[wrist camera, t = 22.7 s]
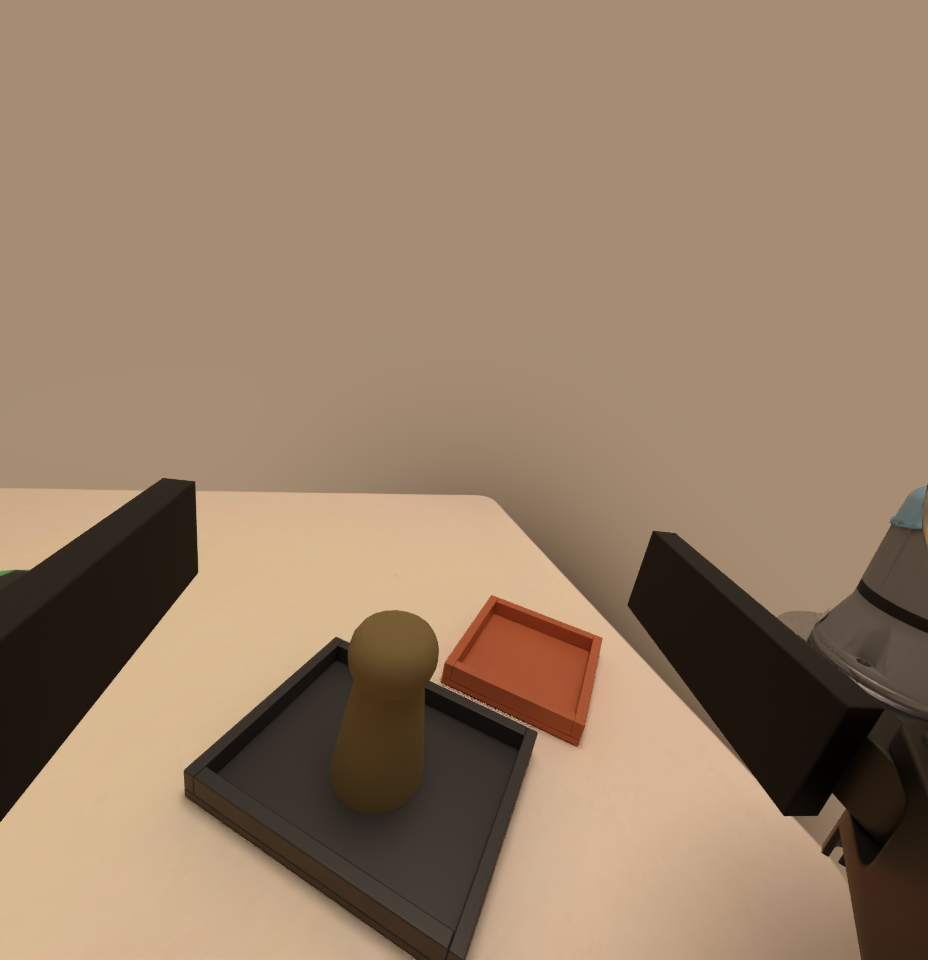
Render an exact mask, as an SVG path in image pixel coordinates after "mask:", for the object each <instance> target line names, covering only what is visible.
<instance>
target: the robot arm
mask: <svg viewBox="0 0 928 960" xmlns="http://www.w3.org/2000/svg"><path fill="white" fill-rule="evenodd" d="M890 523H891V524H892V525H891V526H890V528H889V530H888V532H887V533H886V536H885V537H884V539H883V541H882V543H881V544H880V546H879V548H878V550H877V552H876V553H875V555H874V557H873V559H872V560H871V562H870V564H869V566H868V567H867V569H866V571H865V573H864V574H863V576H862V579H861V580H860V582H859V584H858V586H857V588H856V590H855V591H854V592H853V593H852V594H851V595H850V596H848V597H847V598H846V599H845V600H843V601H842V602H841V603H840V604H838V605H837V606H836V607H835V608H833V609H832V610H831V611H830V612H828V611H829V610H830V608H829V609H828V610H827V611H826V612H824V613H823V614H822V616H821V617H820V619H819V620H818V622H816V624H815V625H814V627H813V629H812V631H811V633H810V635H809V641H810V644H811V645H810V644H809V643H807V642H806V641H805V640H804V639H803V638H801V637H799V636H798V635H796V634H795V633H794V632H793V631H792V630H790V629H789V628H788V627H787V626H786V625H784V624H783V623H782V622H781V621H780V620H778V619H777V618H776V617H775V616H774V615H772V614H771V613H770V612H769V611H768V610H766V609H765V608H764V607H763V606H762V605H761V604H759V603H758V602H757V601H756V600H754V599H753V598H752V597H751V596H750V595H749V594H747V593H746V592H745V591H744V590H742V589H741V588H740V587H739V586H738V585H737V584H735V583H734V582H733V581H732V580H731V579H729V578H728V577H727V576H726V575H725V574H723V573H722V572H721V571H720V570H719V569H717V568H716V567H715V566H714V565H713V564H712V563H710V562H709V561H708V560H706V558H704V557H703V556H702V555H700V553H698V552H697V551H696V550H695V549H694V548H692V547H691V546H690V545H689V544H688V543H686V542H685V541H684V540H683V539H682V538H680V537H679V536H678V535H677V534H676V533H669V532H659V531H653V532H652V535H651V538H650V541H649V544H648V547H647V550H646V553H645V556H644V559H643V561H642V564H641V567H640V570H639V573H638V576H637V579H636V582H635V584H634V588H633V590H632V593H631V596H630V599H629V602H628V607H629V608H630V609H631V611H632V612H633V614H634V615H635V616H636V617H637V619H638V620H639V622H640V623H641V624H642V626H643V627H644V628H645V630H646V631H647V632H648V634H649V635H650V636H651V638H652V639H653V640H654V642H655V643H656V644H657V646H658V647H659V649H660V650H661V651H662V653H663V654H664V655H665V657H666V658H667V659H668V661H669V662H670V663H671V665H672V666H673V667H674V668H675V670H676V671H677V673H678V674H679V675H680V677H681V678H682V679H683V681H684V682H685V683H686V685H687V686H688V687H689V689H690V690H691V692H692V693H693V694H694V696H695V697H696V698H697V700H698V701H699V702H700V704H701V705H702V706H703V708H704V709H705V710H706V712H707V713H708V714H709V716H710V717H711V718H712V720H713V721H714V723H715V724H716V725H717V727H718V728H719V729H720V731H721V732H722V733H723V734H724V736H725V737H726V739H727V740H728V741H729V743H730V744H731V745H732V747H733V748H734V750H735V751H736V752H737V753H738V755H739V756H740V758H741V759H742V760H743V761H744V763H745V764H746V765H747V767H748V768H749V770H750V771H751V772H752V774H753V775H754V776H755V778H756V779H757V780H758V782H759V783H760V785H761V786H762V787H763V789H764V790H765V791H766V793H767V794H768V795H769V797H770V798H771V799H772V801H773V802H774V803H775V805H776V806H777V807H778V809H779V810H780V811H781V813H782V814H783V815H784V816H818V814H819V813H820V811H821V810H822V808H823V806H824V805H825V803H826V802H827V800H828V799H829V797H830V795H831V794H832V793H833V794H834V795H835V796H836V798H837V799H838V800H839V801H840V802H841V803H842V804H843V805H844V807H845V808H846V810H845V811H844V813H843V814H842V816H841V818H840V819H839V820H838V822H837V824H836V825H835V827H834V828H833V830H832V831H831V833H830V834H829V836H828V837H827V839H826V840H825V842H824V843H823V846H822V852H821V853H823V854H824V855H826V856H828V857H829V855H830V854H831V852H832V851H833V849H834V848H835V847H838V846H839V847H842V848H843V853H844V854H843V855H842V857H841V858H840V860H839V863H840V864H841V865H843V866H845V867H846V872H847V877H848V883H849V889H850V895H851V901H852V907H853V913H854V919H855V925H856V931H857V937H858V943H859V949H860V955H861V960H928V723H925V722H922V721H916V720H908V721H905V722H902V721H901V720H900V719H899V718H897V717H896V716H895V715H894V714H893V713H891V712H890V711H889V710H888V709H887V708H885V707H884V706H883V705H882V704H881V703H879V702H878V701H877V700H876V699H878V700H880V701H882V702H884V703H886V704H888V705H890V706H892V707H894V708H896V709H899V710H901V711H903V712H906V713H908V714H911V715H913V716H916V717H919V718H921V719H924V720H928V485H927V486H925V487H921V488H919V489H916V490H914V491H913V492H912V493H910V494H909V495H908V497H907V498H906V500H905V501H904V503H903V504H902V506H901V508H900V509H899V511H898V512H897V514H896V516H894V517H892V518H891V520H890ZM197 573H198V551H197V521H196V491H195V481H186V480H176V479H167V478H162V479H161V480H160V481H158V482H157V483H155V484H154V485H152V486H151V487H149V488H148V489H147V490H145V491H144V492H142V493H141V494H139V495H138V496H136V497H135V498H134V499H132V500H131V501H129V502H128V503H126V504H125V505H123V506H122V507H121V508H119V509H118V510H116V511H115V512H113V513H112V514H110V515H109V516H108V517H106V518H105V519H103V520H102V521H100V522H99V523H97V524H96V525H95V526H93V527H92V528H90V529H89V530H87V531H86V532H84V533H83V534H82V535H80V536H79V537H77V538H76V539H74V540H73V541H71V542H70V543H69V544H67V545H66V546H64V547H63V548H61V549H60V550H58V551H57V552H56V553H54V554H53V555H51V556H50V557H48V558H47V559H45V560H44V561H43V562H41V563H40V564H38V565H37V566H35V567H34V568H32V569H31V570H30V571H23V570H14V571H12V572H9V573H7V574H4V575H2V576H0V822H1V821H2V819H3V818H4V817H5V816H6V814H7V813H8V812H9V811H10V809H11V808H12V807H13V806H14V804H15V803H16V802H17V801H18V799H19V798H20V797H21V795H22V794H23V793H24V792H25V790H26V789H27V788H28V787H29V785H30V784H31V783H32V782H33V780H34V779H35V778H36V777H37V775H38V774H39V773H40V772H41V770H42V769H43V768H44V766H45V765H46V764H47V763H48V761H49V760H50V759H51V758H52V756H53V755H54V754H55V753H56V751H57V750H58V749H59V748H60V746H61V745H62V744H63V743H64V741H65V740H66V739H67V737H68V736H69V735H70V734H71V732H72V731H73V730H74V729H75V727H76V726H77V725H78V724H79V722H80V721H81V720H82V719H83V717H84V716H85V715H86V713H87V712H88V711H89V710H90V708H91V707H92V706H93V705H94V703H95V702H96V701H97V700H98V698H99V697H100V696H101V695H102V693H103V692H104V691H105V690H106V688H107V687H108V686H109V684H110V683H111V682H112V681H113V679H114V678H115V677H116V676H117V674H118V673H119V672H120V671H121V669H122V668H123V667H124V666H125V664H126V663H127V662H128V661H129V659H130V658H131V657H132V655H133V654H134V653H135V652H136V650H137V649H138V648H139V647H140V645H141V644H142V643H143V642H144V640H145V639H146V638H147V637H148V635H149V634H150V633H151V632H152V630H153V629H154V628H155V626H156V625H157V624H158V623H159V621H160V620H161V619H162V618H163V616H164V615H165V614H166V613H167V611H168V610H169V609H170V608H171V606H172V605H173V604H174V602H175V601H176V600H177V599H178V597H179V596H180V595H181V594H182V592H183V591H184V590H185V589H186V587H187V586H188V585H189V584H190V582H191V581H192V580H193V579H194V577H195V576H196V575H197ZM872 696H873V697H875V698H876V699H875V698H873V697H872Z"/></svg>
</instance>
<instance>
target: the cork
mask: <svg viewBox="0 0 928 960" xmlns="http://www.w3.org/2000/svg"><path fill="white" fill-rule="evenodd" d="M438 654H439V647H438V641H437V638H436V636H435V633H434V631H433V630H432V628H431V627H430V625H429V624H428V623H427V622H426V621H425V620H423V619H422V618H420V617H419V616H417V615H414V614H412V613H409V612H404V611H398V610H393V611H383V612H379V613H375V614H373V615H372V616H370V617H368V618H366V619H365V620H364V621H363V622H362V623H361V624H360V626H359V627H358V628H357V629H356V630H355V631H354V634H353V636H352V639H351V641H350V644H349V647H348V664H349V669H350V674H351V675H352V677H353V679H354V681H353V685H352V688H351V692H350V695H349V699H348V703H347V706H346V710H345V713H344V717H343V720H342V724H341V728H340V731H339V735H338V738H337V742H336V746H335V749H334V753H333V756H332V760H331V763H330V782H331V784H332V787H333V789H334V792H335V794H336V795H337V796H338V797H339V799H340V800H341V801H342V802H343V803H344V804H345V805H346V806H348V807H350V808H352V809H354V810H356V811H358V812H361V813H368V814H381V813H386V812H391V811H393V810H395V809H397V808H399V807H400V806H402V805H404V804H406V803H407V802H408V801H409V800H410V798H411V797H412V796H413V795H414V794H415V793H416V792H417V790H418V787H419V785H420V783H421V781H422V778H423V768H424V711H425V686H426V685H427V684H428V682H429V680H430V679H431V677H432V675H433V673H434V671H435V670H436V667H437V662H438Z"/></svg>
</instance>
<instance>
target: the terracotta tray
mask: <svg viewBox="0 0 928 960" xmlns="http://www.w3.org/2000/svg"><path fill="white" fill-rule="evenodd" d="M601 643H602V638H601V637H599V636H596V635H593V634H591V633H588V632H586V631H583V630H581V629H578V628H575V627H573V626H570V625H568V624H565V623H562V622H560V621H557V620H555V619H552V618H549V617H547V616H544V615H542V614H539V613H537V612H534V611H531V610H529V609H526V608H524V607H521V606H518V605H516V604H513V603H511V602H508V601H506V600H503V599H500V598H498V597H495V596H493V595H491V597H490V598H489V600H488V601H487V602H486V604H485V605H484V607H483V608H482V610H481V611H480V613H479V614H478V615H477V617H476V618H475V620H474V621H473V623H472V624H471V625H470V627H469V628H468V630H467V631H466V633H465V634H464V636H463V637H462V638H461V640H460V641H459V643H458V644H457V646H456V647H455V648H454V650H453V651H452V653H451V654H450V656H449V657H448V659H447V660H446V661H445V664H444V669H443V674H442V679H441V682H442V683H444V684H447V685H449V686H451V687H453V688H455V689H457V690H459V691H461V692H464V693H466V694H468V695H470V696H472V697H474V698H476V699H478V700H481V701H483V702H485V703H487V704H489V705H491V706H493V707H495V708H498V709H500V710H502V711H504V712H506V713H508V714H510V715H512V716H515V717H517V718H519V719H521V720H523V721H525V722H527V723H529V724H532V725H534V726H536V727H538V728H540V729H542V730H544V731H546V732H549V733H551V734H553V735H555V736H557V737H559V738H561V739H563V740H566V741H568V742H570V743H572V744H574V745H576V746H578V744H579V741H580V738H581V736H582V733H583V730H584V727H585V722H586V717H587V713H588V708H589V703H590V698H591V693H592V688H593V683H594V678H595V673H596V668H597V663H598V658H599V653H600V648H601Z"/></svg>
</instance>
